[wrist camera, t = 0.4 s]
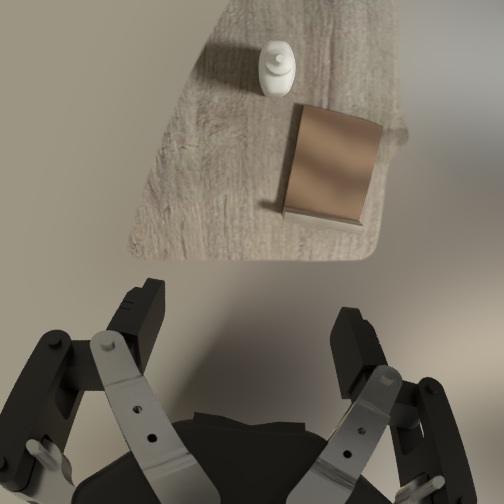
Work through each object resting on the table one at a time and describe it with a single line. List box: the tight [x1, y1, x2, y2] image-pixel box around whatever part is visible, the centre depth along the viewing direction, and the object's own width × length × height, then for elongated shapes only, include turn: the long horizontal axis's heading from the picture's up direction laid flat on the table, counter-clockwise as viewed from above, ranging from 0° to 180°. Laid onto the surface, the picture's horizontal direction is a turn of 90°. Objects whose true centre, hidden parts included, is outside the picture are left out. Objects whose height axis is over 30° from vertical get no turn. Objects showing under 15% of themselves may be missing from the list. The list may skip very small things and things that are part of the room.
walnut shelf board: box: [282, 105, 383, 235], centre depth 34 cm, size 14×10×3 cm
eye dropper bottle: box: [259, 40, 295, 97], centre depth 25 cm, size 4×6×12 cm
